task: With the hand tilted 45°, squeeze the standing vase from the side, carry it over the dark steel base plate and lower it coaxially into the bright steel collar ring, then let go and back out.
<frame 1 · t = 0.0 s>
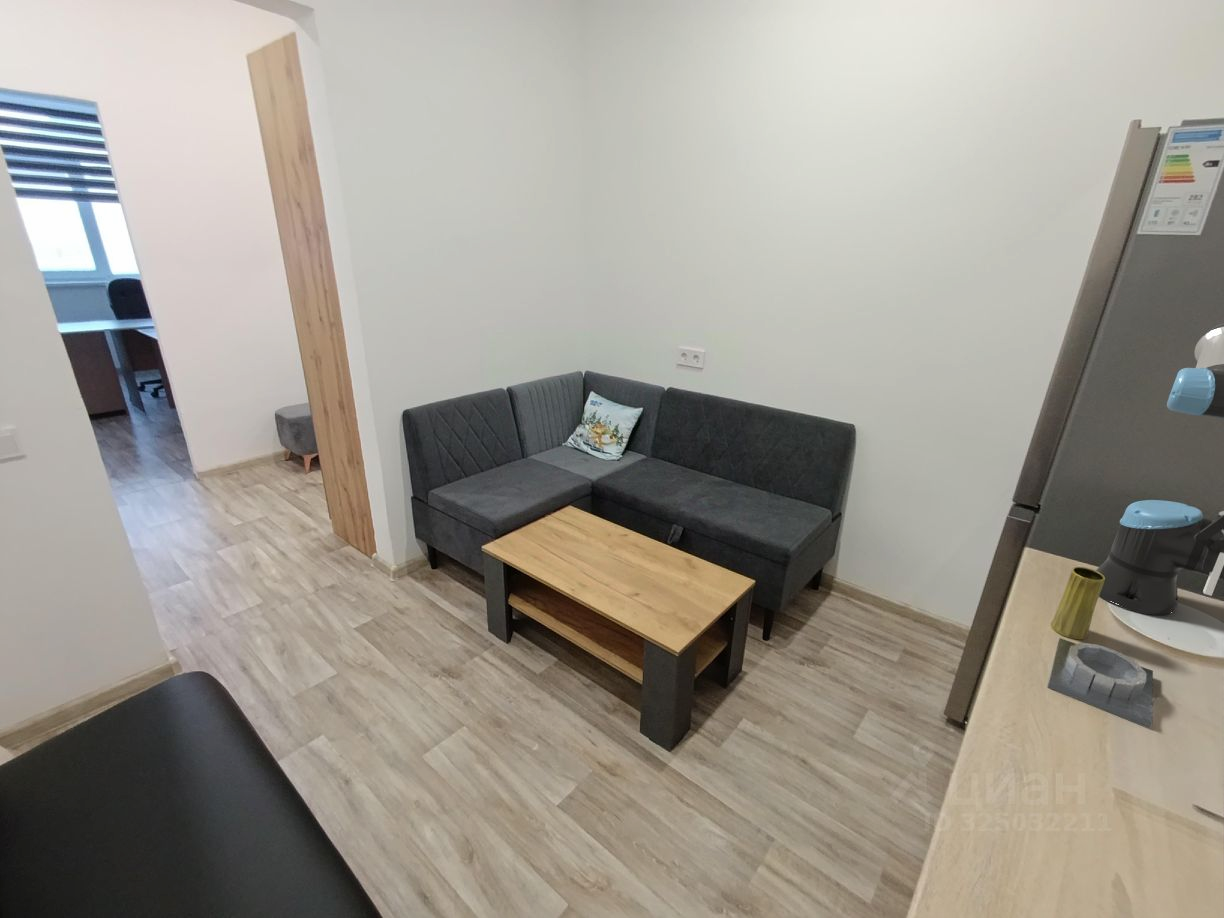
vase: (1068, 631, 116), on the table
collar stand: (1099, 682, 103), on the table
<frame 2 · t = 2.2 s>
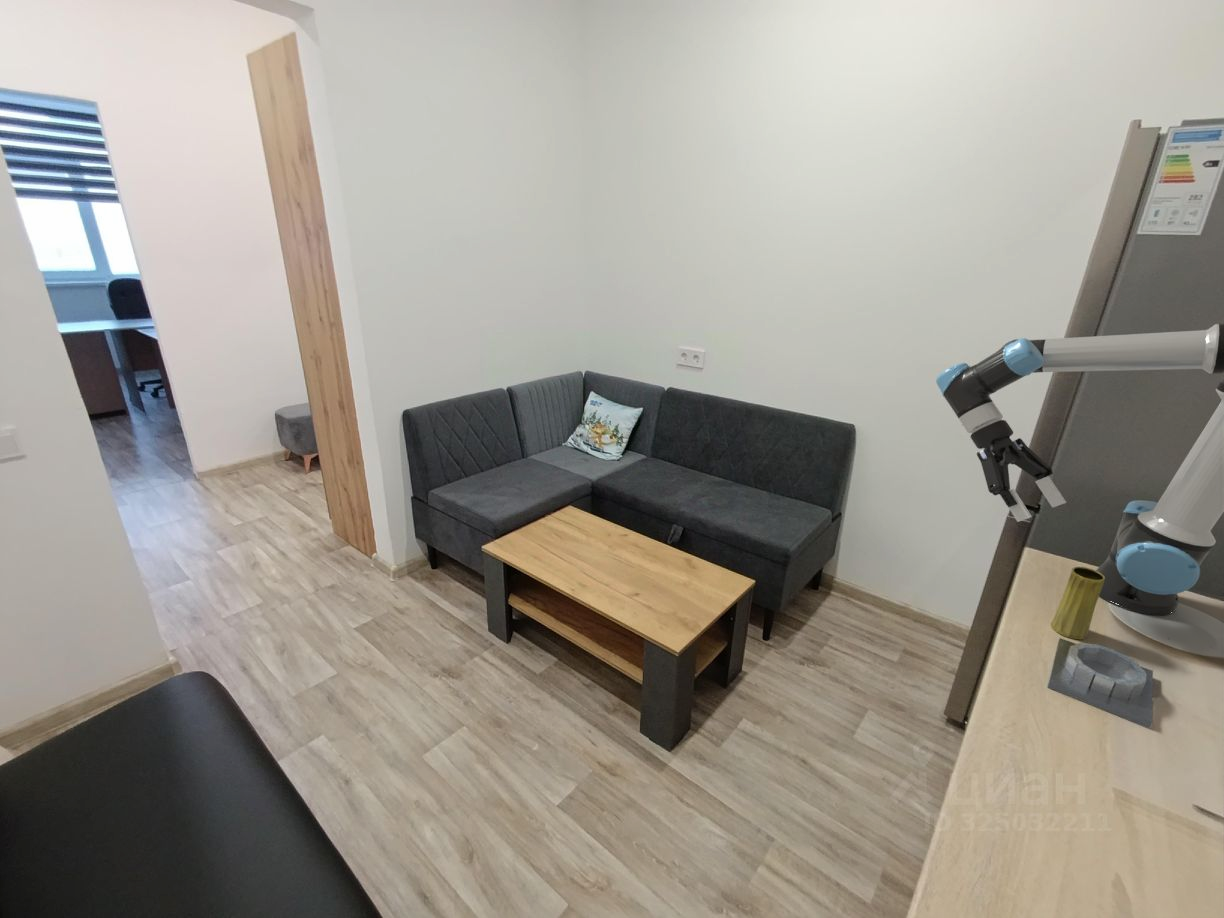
hand: (1042, 512, 116), 24 cm above the table, tool tilted 45°, fingers open, 13 cm apart
nothing on the table moved.
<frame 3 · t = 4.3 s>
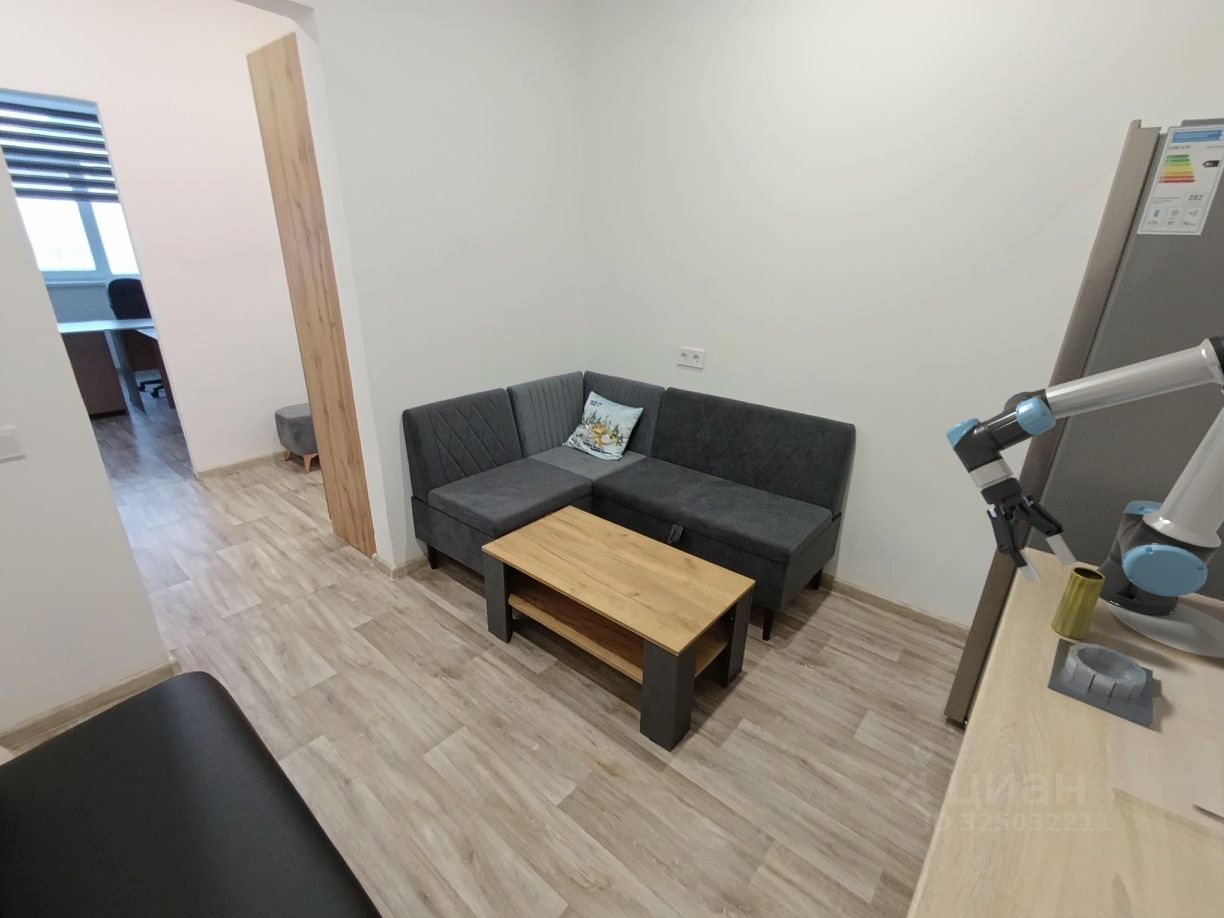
hand: (1053, 572, 116), 12 cm above the table, tool tilted 45°, fingers open, 13 cm apart
nothing on the table moved.
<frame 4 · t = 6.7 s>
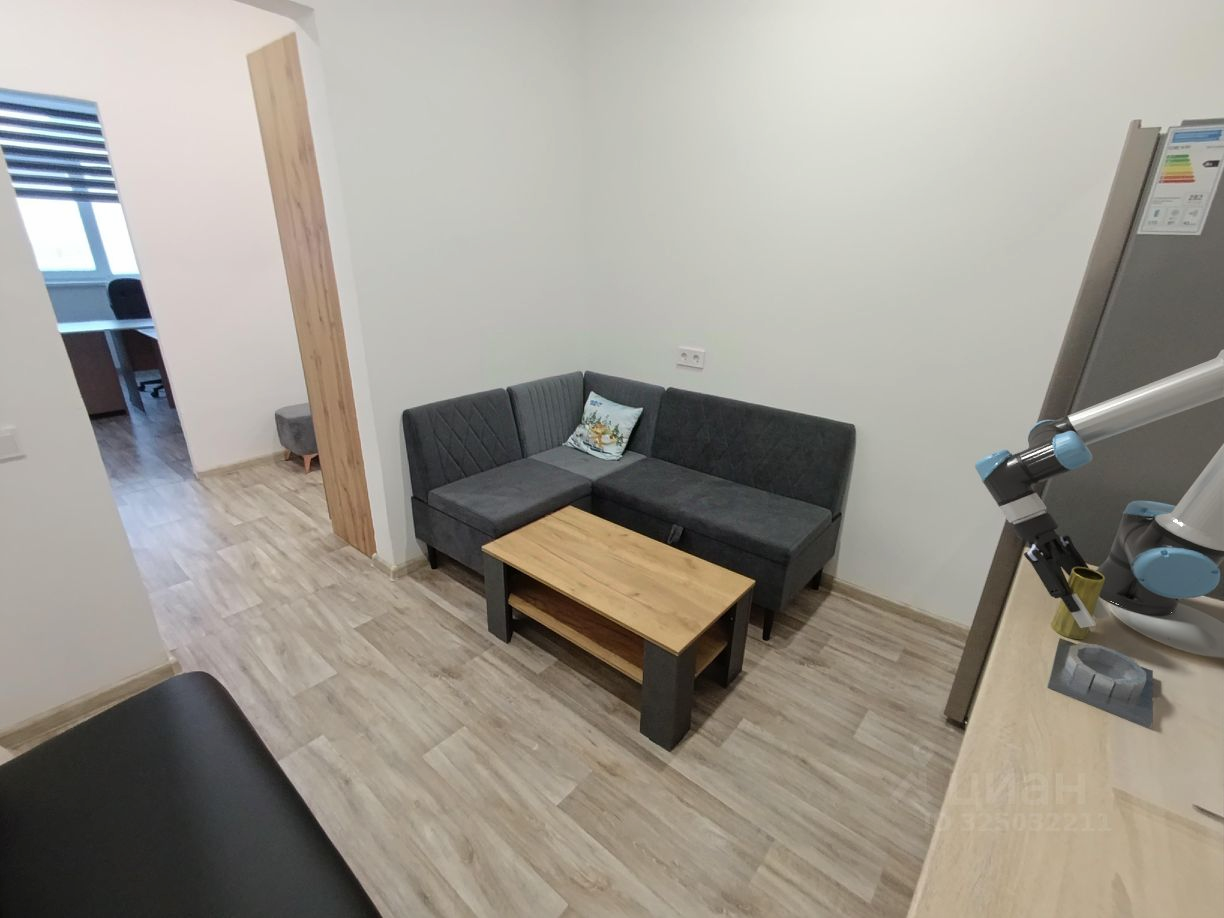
hand: (1096, 621, 111), 5 cm above the table, tool tilted 45°, fingers closed on vase, 5 cm apart
vase: (1068, 631, 116), on the table, touching gripper
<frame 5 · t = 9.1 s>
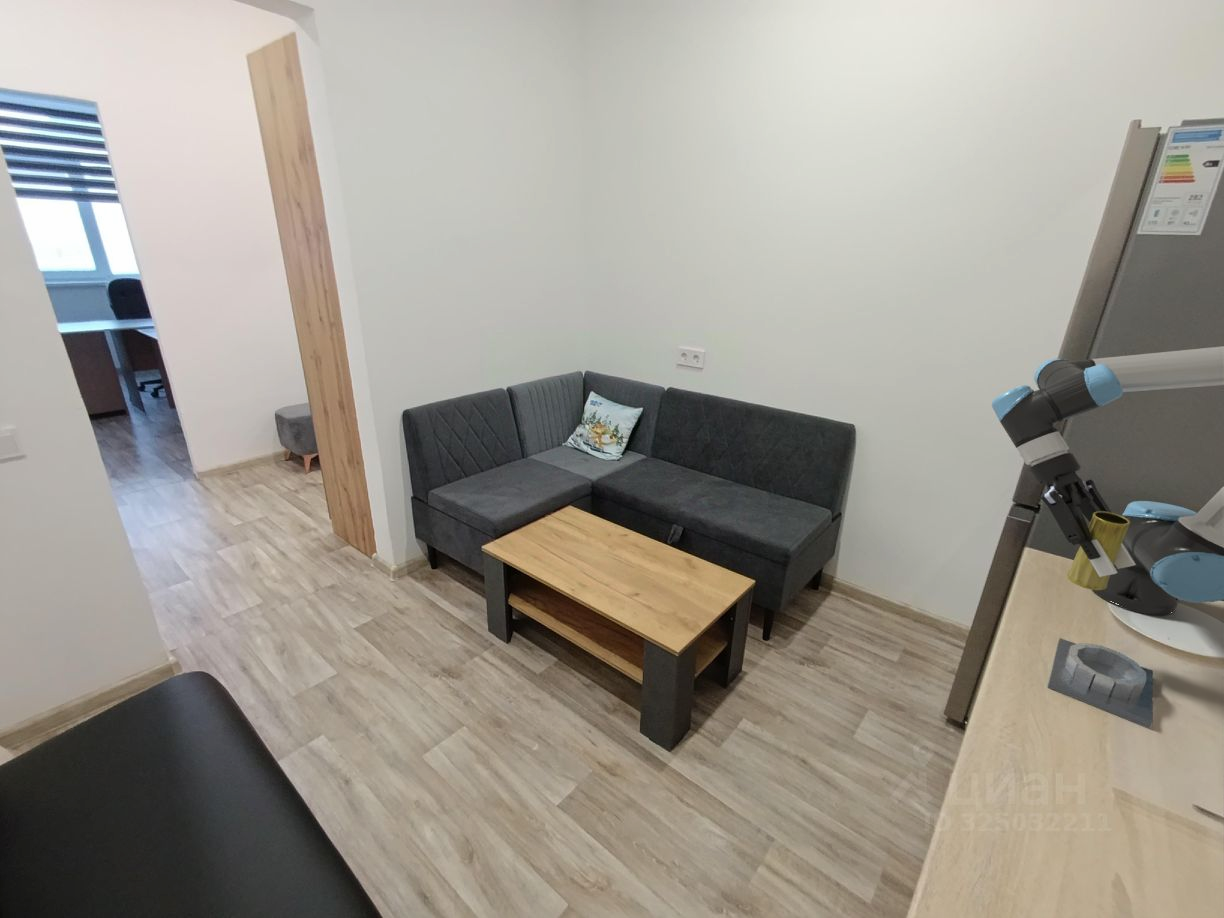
hand: (1117, 570, 102), 20 cm above the table, tool tilted 45°, fingers closed on vase, 5 cm apart
vase: (1085, 582, 107), point 15 cm above the table, touching gripper
when the fingers open (8 cm above the table, at t = 11.7 s): vase drops 1 cm, resting on collar stand.
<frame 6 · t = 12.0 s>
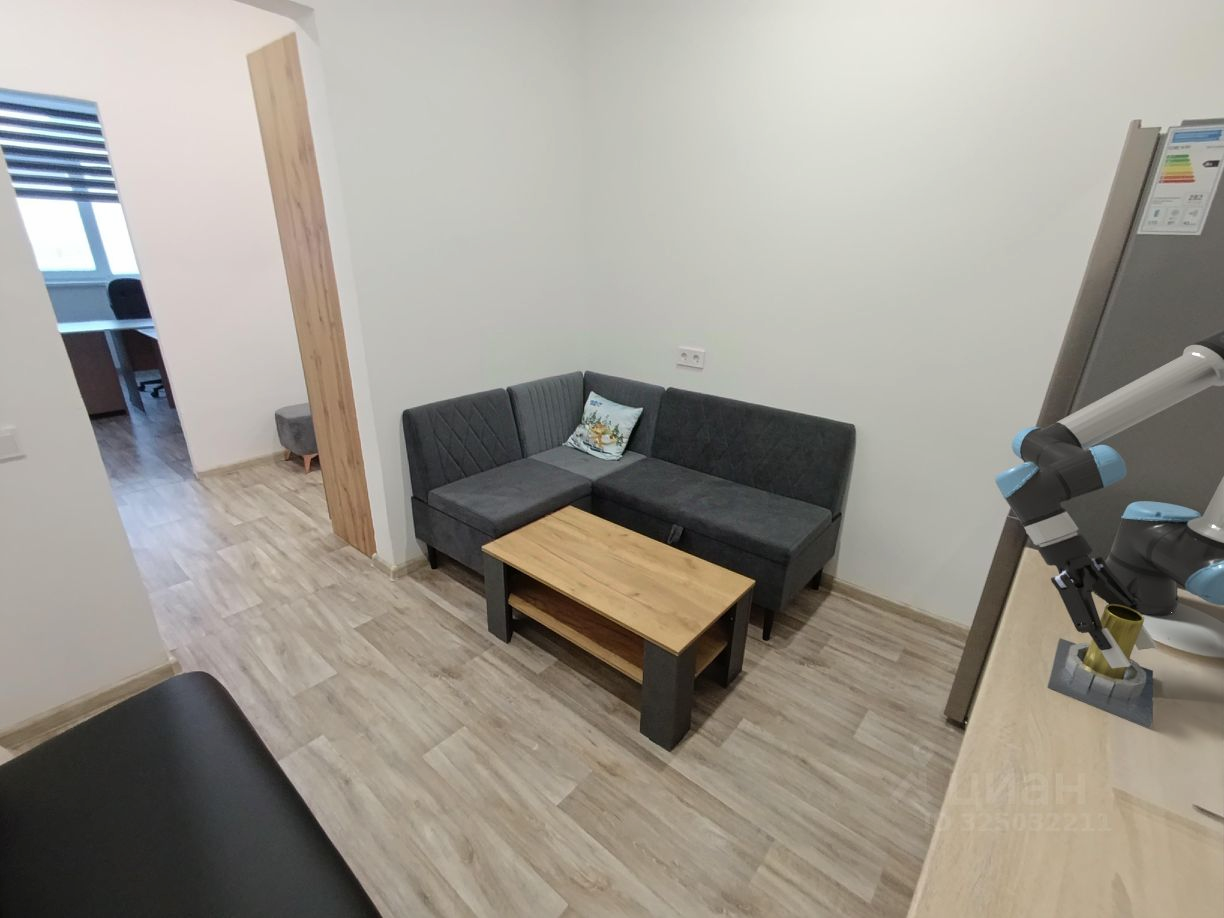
hand: (1134, 657, 97), 8 cm above the table, tool tilted 45°, fingers open, 9 cm apart
vase: (1100, 676, 102), point 1 cm above the table, touching collar stand
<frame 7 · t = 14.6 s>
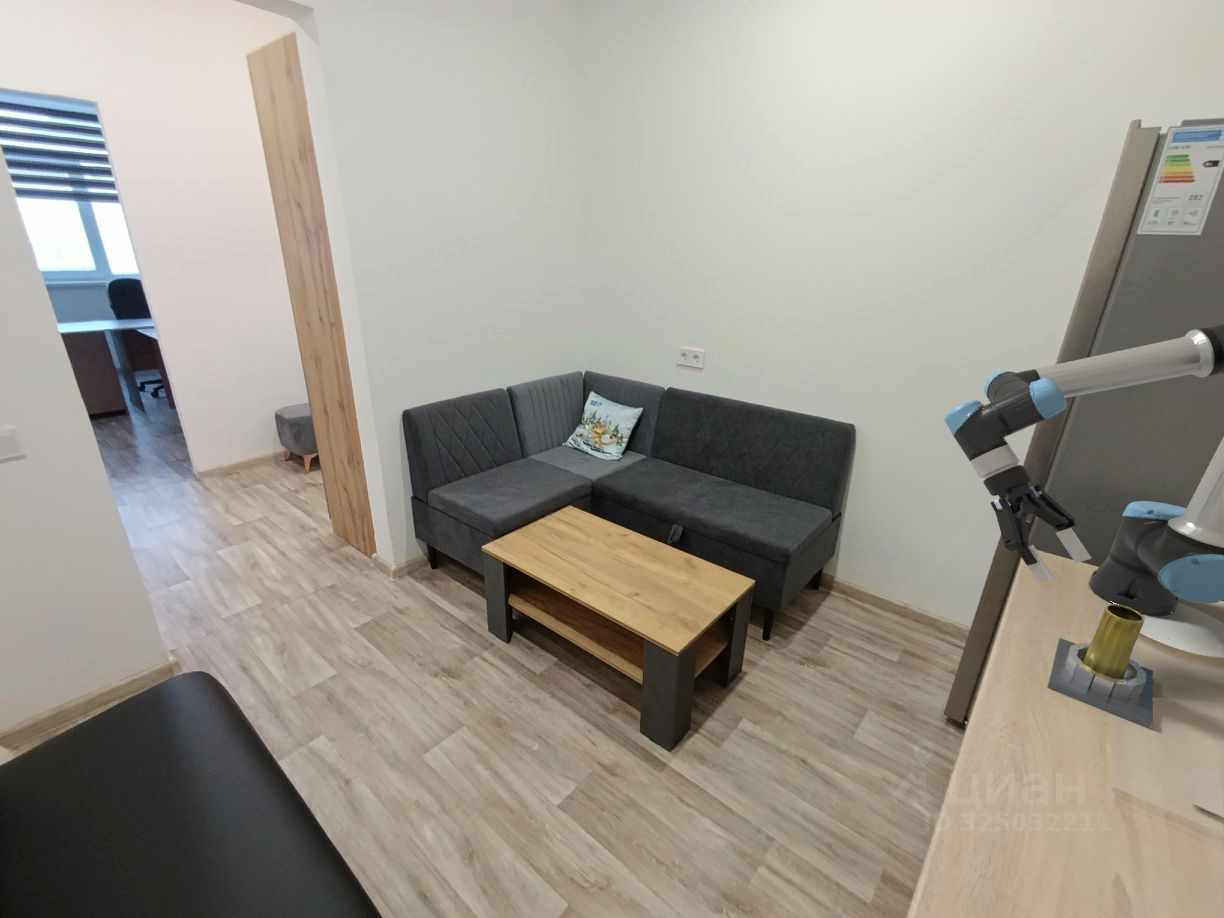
hand: (1065, 570, 104), 19 cm above the table, tool tilted 45°, fingers open, 13 cm apart
nothing on the table moved.
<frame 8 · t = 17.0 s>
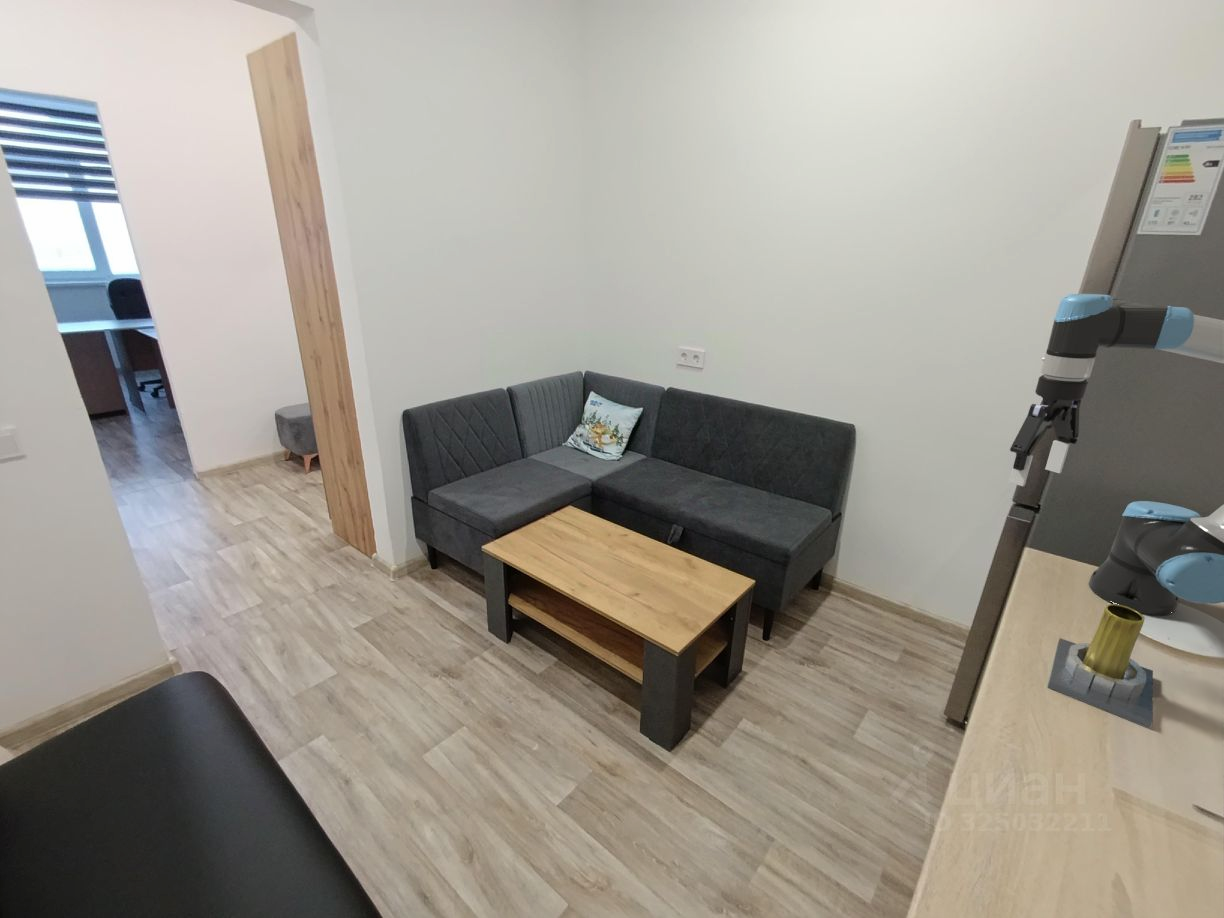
hand: (1035, 477, 114), 32 cm above the table, tool pointing down, fingers open, 13 cm apart
nothing on the table moved.
at the end: vase 0.2 cm off-centre on the collar stand, point 1.3 cm above the collar stand's base; vase tilted 0°; the gripper is holding nothing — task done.
